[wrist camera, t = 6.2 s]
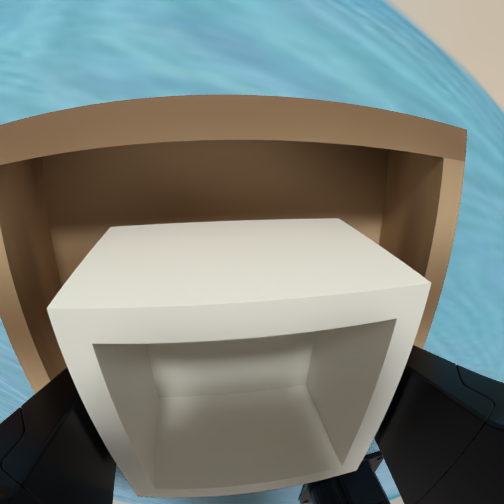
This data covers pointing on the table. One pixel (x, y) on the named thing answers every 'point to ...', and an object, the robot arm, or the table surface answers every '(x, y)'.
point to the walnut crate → (213, 187)
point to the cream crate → (237, 350)
